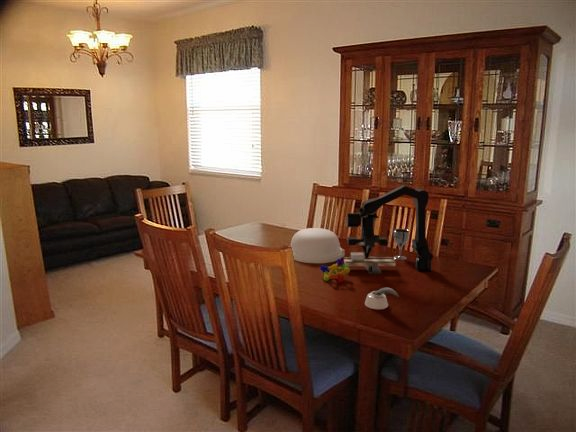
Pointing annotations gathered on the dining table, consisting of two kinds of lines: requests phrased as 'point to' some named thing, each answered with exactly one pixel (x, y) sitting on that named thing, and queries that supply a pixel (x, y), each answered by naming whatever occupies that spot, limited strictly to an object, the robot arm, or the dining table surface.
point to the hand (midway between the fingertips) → (366, 258)
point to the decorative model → (335, 271)
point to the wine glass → (400, 241)
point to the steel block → (357, 256)
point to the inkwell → (379, 298)
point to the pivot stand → (373, 268)
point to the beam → (370, 261)
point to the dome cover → (316, 246)
